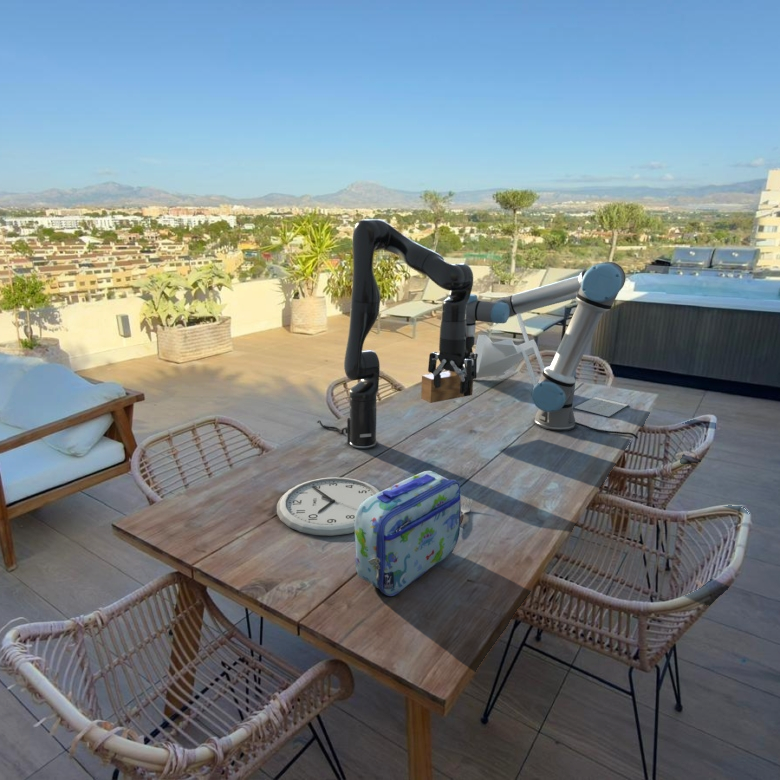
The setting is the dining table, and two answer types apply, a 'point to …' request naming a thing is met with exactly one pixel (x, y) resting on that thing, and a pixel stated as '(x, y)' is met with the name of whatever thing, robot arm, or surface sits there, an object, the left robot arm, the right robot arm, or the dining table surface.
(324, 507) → the wall clock
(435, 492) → the lunch box
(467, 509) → the fork
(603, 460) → the dining table surface
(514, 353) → the white plastic object
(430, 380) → the box
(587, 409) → the invitation card
